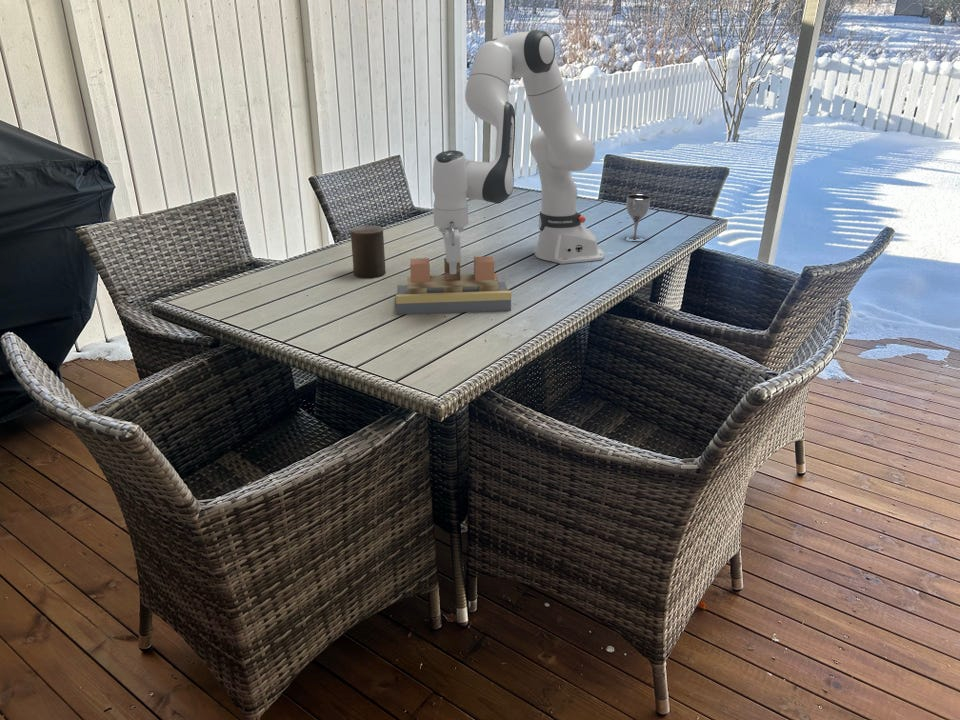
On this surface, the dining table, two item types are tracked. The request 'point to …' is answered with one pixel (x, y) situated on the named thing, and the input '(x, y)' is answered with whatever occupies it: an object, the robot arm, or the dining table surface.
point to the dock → (453, 300)
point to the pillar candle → (368, 251)
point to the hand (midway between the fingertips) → (452, 269)
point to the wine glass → (637, 209)
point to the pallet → (452, 282)
